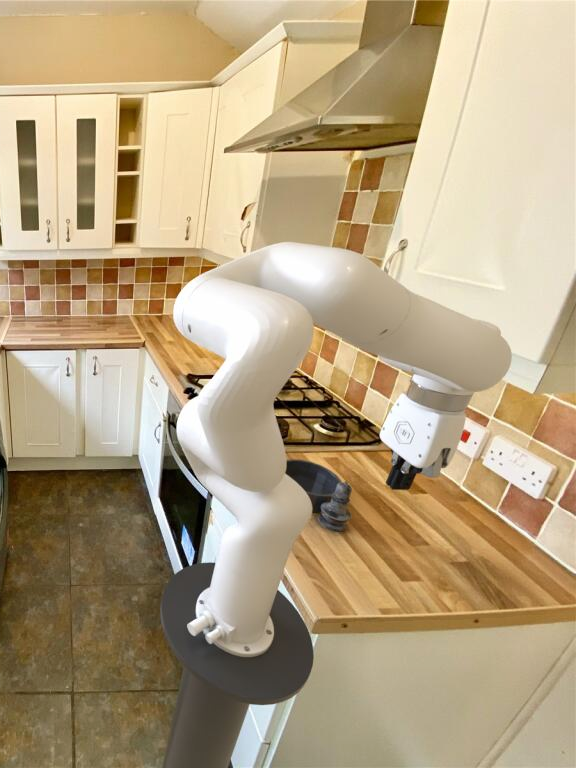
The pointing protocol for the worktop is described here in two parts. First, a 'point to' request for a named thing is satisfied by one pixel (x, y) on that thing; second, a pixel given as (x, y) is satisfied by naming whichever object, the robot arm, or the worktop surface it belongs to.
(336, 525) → the dark grey chess piece
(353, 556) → the worktop surface
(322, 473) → the dark grey bowl
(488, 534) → the worktop surface
